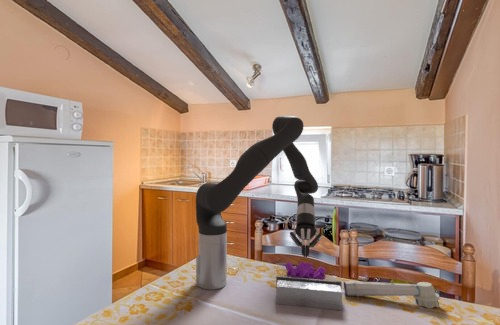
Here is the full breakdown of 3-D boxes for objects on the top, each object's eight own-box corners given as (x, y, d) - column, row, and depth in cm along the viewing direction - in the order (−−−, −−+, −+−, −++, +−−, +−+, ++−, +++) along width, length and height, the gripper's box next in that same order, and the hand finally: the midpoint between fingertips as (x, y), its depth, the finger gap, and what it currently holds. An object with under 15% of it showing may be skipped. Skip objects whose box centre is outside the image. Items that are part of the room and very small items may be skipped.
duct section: (274, 303, 81) (274, 283, 81) (276, 293, 86) (276, 275, 86) (343, 310, 77) (343, 290, 77) (341, 300, 83) (341, 281, 83)
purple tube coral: (308, 285, 100) (325, 265, 99) (310, 307, 85) (330, 283, 84) (283, 264, 102) (299, 244, 101) (280, 282, 87) (299, 258, 86)
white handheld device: (343, 278, 90) (433, 276, 83) (345, 299, 89) (436, 299, 82) (343, 285, 84) (439, 284, 78) (346, 307, 84) (443, 309, 77)
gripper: (289, 211, 116) (287, 250, 104) (322, 212, 113) (324, 252, 102) (290, 221, 121) (288, 259, 110) (321, 222, 119) (323, 262, 107)
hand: (305, 256), depth 106 cm, fingers closed
